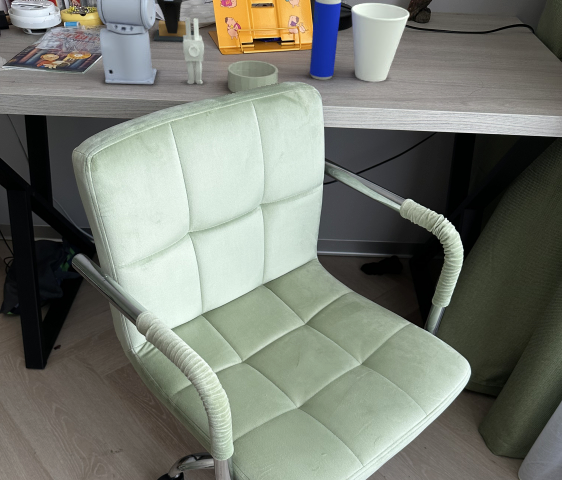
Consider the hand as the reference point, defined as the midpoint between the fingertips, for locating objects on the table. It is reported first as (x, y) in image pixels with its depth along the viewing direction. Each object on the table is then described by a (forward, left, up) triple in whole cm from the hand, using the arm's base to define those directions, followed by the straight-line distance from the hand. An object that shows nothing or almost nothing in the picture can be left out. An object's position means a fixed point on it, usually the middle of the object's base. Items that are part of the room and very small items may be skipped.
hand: (173, 28), depth 136 cm
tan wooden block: (0, 0, -1) cm, 1 cm away
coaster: (0, 0, -2) cm, 2 cm away
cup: (+44, -23, -2) cm, 50 cm away
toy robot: (+6, -31, -2) cm, 31 cm away
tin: (+18, -31, -2) cm, 36 cm away
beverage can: (+33, -24, -2) cm, 41 cm away
